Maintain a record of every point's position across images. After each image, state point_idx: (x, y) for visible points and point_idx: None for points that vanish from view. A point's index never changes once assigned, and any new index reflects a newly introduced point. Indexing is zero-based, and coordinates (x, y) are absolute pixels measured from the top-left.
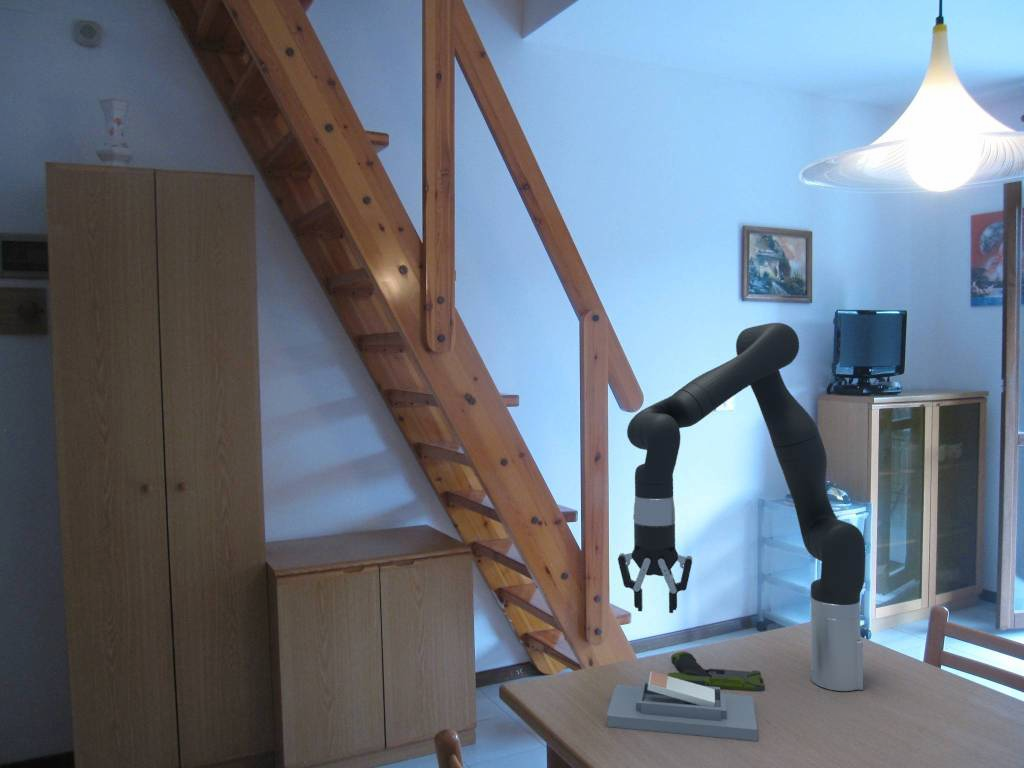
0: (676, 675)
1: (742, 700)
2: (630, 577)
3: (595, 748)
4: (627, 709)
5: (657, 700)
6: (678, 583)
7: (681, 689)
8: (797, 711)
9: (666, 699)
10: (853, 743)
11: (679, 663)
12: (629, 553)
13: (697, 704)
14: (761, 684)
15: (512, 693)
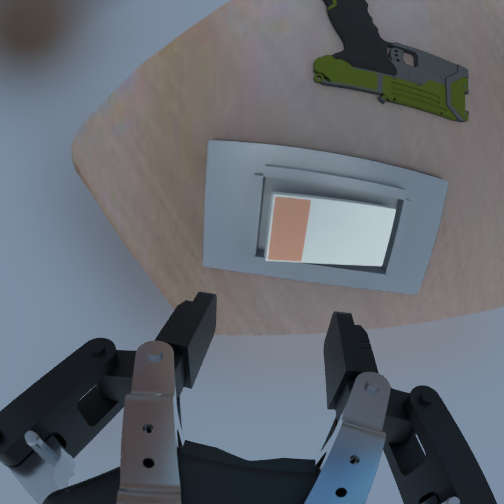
0: (331, 68)
1: (431, 198)
2: (98, 373)
3: None
4: (234, 243)
5: None
6: (389, 428)
7: (332, 247)
8: (484, 196)
9: None
10: (495, 280)
11: (337, 19)
12: (33, 497)
13: None
14: (465, 114)
15: (77, 168)
